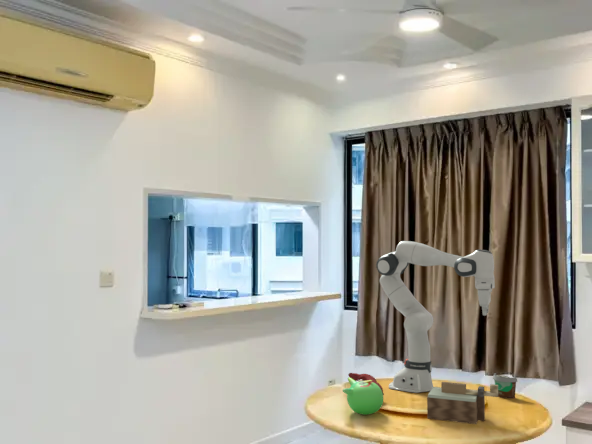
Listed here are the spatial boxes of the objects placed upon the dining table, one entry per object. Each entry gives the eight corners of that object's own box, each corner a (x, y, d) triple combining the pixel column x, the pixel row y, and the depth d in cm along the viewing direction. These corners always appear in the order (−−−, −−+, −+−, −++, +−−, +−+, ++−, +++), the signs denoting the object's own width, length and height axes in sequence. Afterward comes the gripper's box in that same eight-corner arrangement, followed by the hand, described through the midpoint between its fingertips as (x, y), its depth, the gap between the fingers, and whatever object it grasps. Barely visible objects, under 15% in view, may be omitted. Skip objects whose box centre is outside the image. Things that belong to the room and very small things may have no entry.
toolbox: (427, 418, 255) (427, 386, 255) (433, 409, 267) (433, 379, 268) (482, 425, 246) (482, 392, 246) (485, 415, 259) (485, 384, 259)
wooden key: (465, 393, 254) (465, 383, 254) (466, 392, 257) (466, 381, 257) (497, 397, 249) (497, 386, 249) (498, 395, 252) (498, 384, 252)
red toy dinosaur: (357, 396, 306) (339, 376, 302) (368, 382, 309) (351, 363, 305) (388, 411, 280) (369, 390, 276) (400, 396, 283) (382, 374, 279)
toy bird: (382, 420, 252) (382, 385, 252) (342, 418, 255) (342, 383, 255) (384, 408, 269) (384, 375, 270) (347, 406, 273) (346, 374, 273)
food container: (487, 395, 292) (487, 374, 293) (495, 393, 296) (495, 372, 296) (510, 400, 283) (509, 379, 283) (517, 398, 286) (517, 377, 286)
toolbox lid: (428, 399, 255) (427, 384, 255) (433, 391, 268) (433, 377, 268) (475, 404, 247) (475, 389, 247) (479, 396, 260) (478, 381, 260)
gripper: (479, 282, 291) (480, 311, 291) (475, 285, 272) (476, 316, 272) (493, 282, 289) (494, 311, 289) (490, 286, 270) (491, 316, 270)
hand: (485, 314), depth 280 cm, fingers open, 8 cm apart
